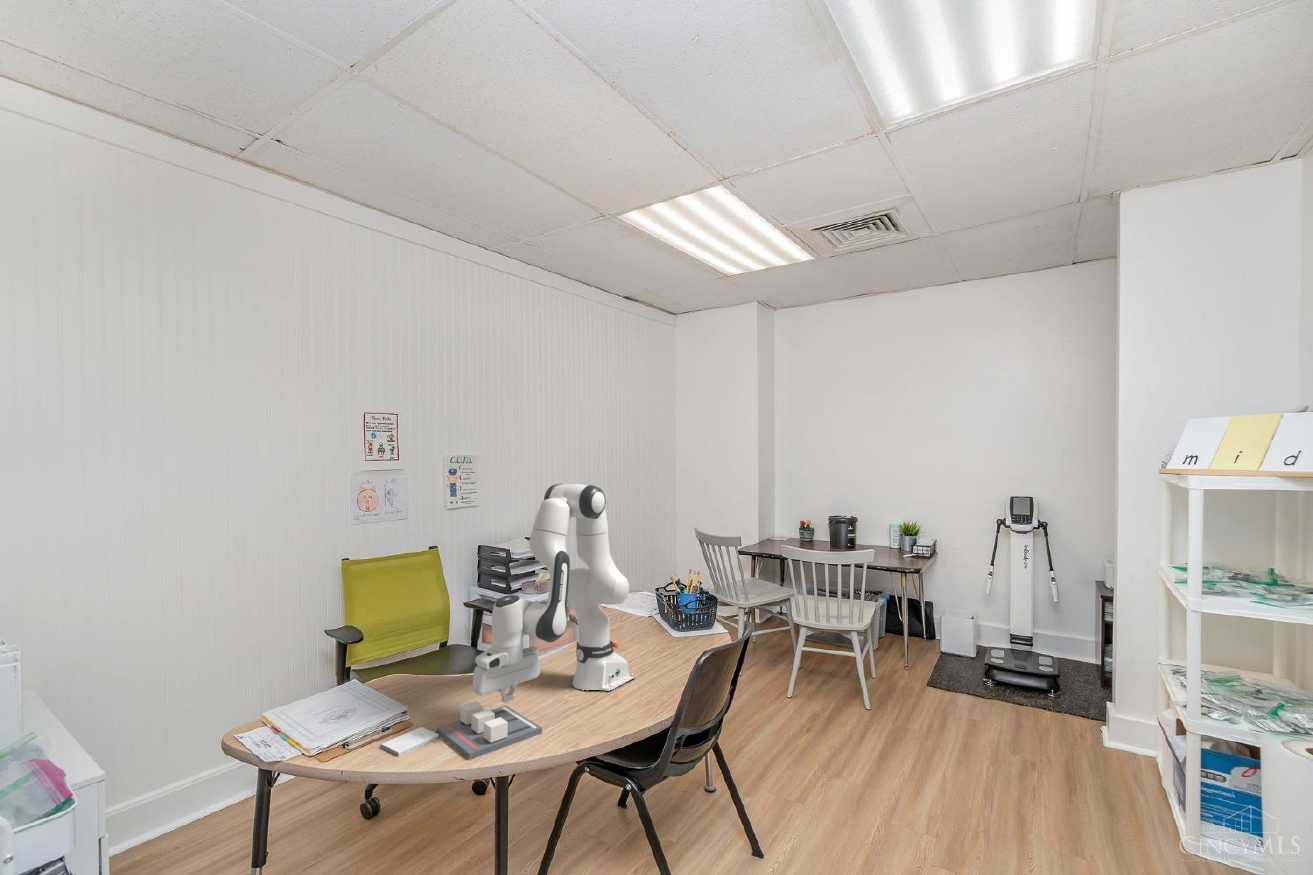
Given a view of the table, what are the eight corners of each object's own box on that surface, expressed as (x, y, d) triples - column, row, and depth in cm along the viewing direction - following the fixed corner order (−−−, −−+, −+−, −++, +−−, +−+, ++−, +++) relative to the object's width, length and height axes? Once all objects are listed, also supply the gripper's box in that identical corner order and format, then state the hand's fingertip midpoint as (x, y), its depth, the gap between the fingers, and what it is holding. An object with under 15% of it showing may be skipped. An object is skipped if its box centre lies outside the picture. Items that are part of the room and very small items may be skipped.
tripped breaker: (487, 723, 171) (487, 708, 171) (494, 727, 168) (494, 713, 168) (471, 728, 167) (471, 714, 168) (478, 733, 165) (478, 718, 165)
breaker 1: (476, 714, 176) (476, 701, 176) (482, 719, 173) (483, 705, 173) (460, 720, 173) (460, 706, 173) (466, 724, 170) (466, 710, 170)
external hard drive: (380, 749, 160) (420, 731, 170) (398, 758, 155) (438, 739, 166) (380, 743, 160) (420, 725, 170) (398, 752, 155) (439, 733, 166)
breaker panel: (506, 710, 184) (506, 705, 184) (542, 732, 170) (542, 727, 170) (436, 732, 169) (436, 726, 169) (469, 759, 154) (469, 753, 154)
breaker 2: (500, 731, 166) (500, 717, 166) (507, 736, 163) (507, 721, 163) (483, 737, 162) (483, 722, 163) (490, 742, 160) (491, 727, 160)
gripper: (532, 641, 183) (532, 686, 183) (470, 659, 169) (470, 707, 169) (544, 647, 178) (544, 693, 178) (480, 665, 164) (480, 715, 164)
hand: (507, 700), depth 174 cm, fingers closed
